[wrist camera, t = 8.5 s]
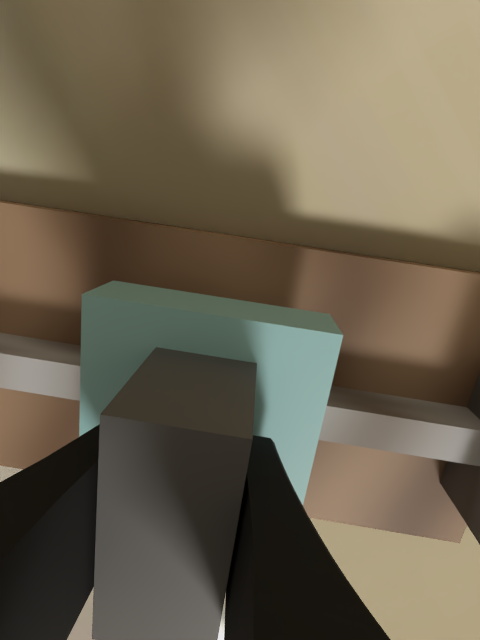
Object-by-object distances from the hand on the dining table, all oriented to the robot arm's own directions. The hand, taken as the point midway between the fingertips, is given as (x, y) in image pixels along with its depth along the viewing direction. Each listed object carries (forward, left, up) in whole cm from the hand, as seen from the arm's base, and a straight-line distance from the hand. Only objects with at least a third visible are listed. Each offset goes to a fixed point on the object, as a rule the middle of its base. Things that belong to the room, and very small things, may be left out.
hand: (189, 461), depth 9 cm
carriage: (0, 0, -2) cm, 2 cm away
